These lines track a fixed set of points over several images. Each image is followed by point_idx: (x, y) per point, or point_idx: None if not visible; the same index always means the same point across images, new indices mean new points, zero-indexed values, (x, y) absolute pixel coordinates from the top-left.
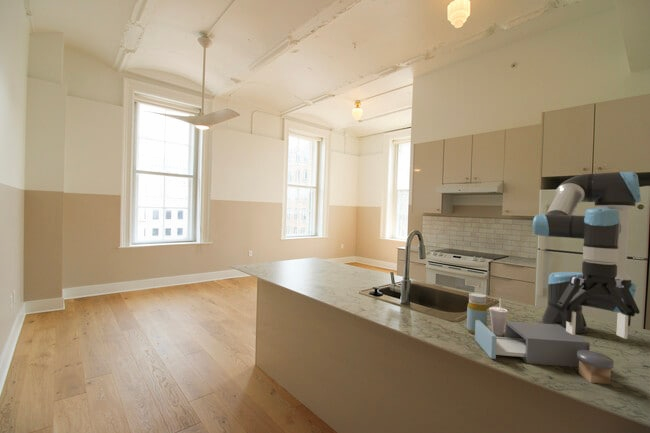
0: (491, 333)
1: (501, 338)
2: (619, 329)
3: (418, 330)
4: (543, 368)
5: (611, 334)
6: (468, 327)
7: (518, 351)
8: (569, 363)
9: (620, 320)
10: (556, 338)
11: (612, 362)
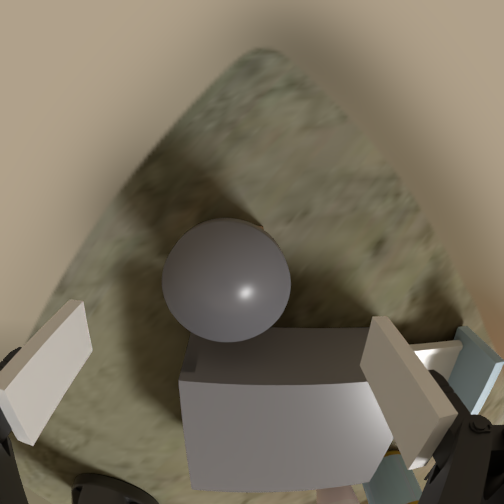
0: (491, 380)
1: None
2: (72, 356)
3: (497, 422)
4: (358, 301)
5: (34, 458)
6: None
7: None
8: None
9: (43, 392)
10: (303, 400)
11: (189, 234)
